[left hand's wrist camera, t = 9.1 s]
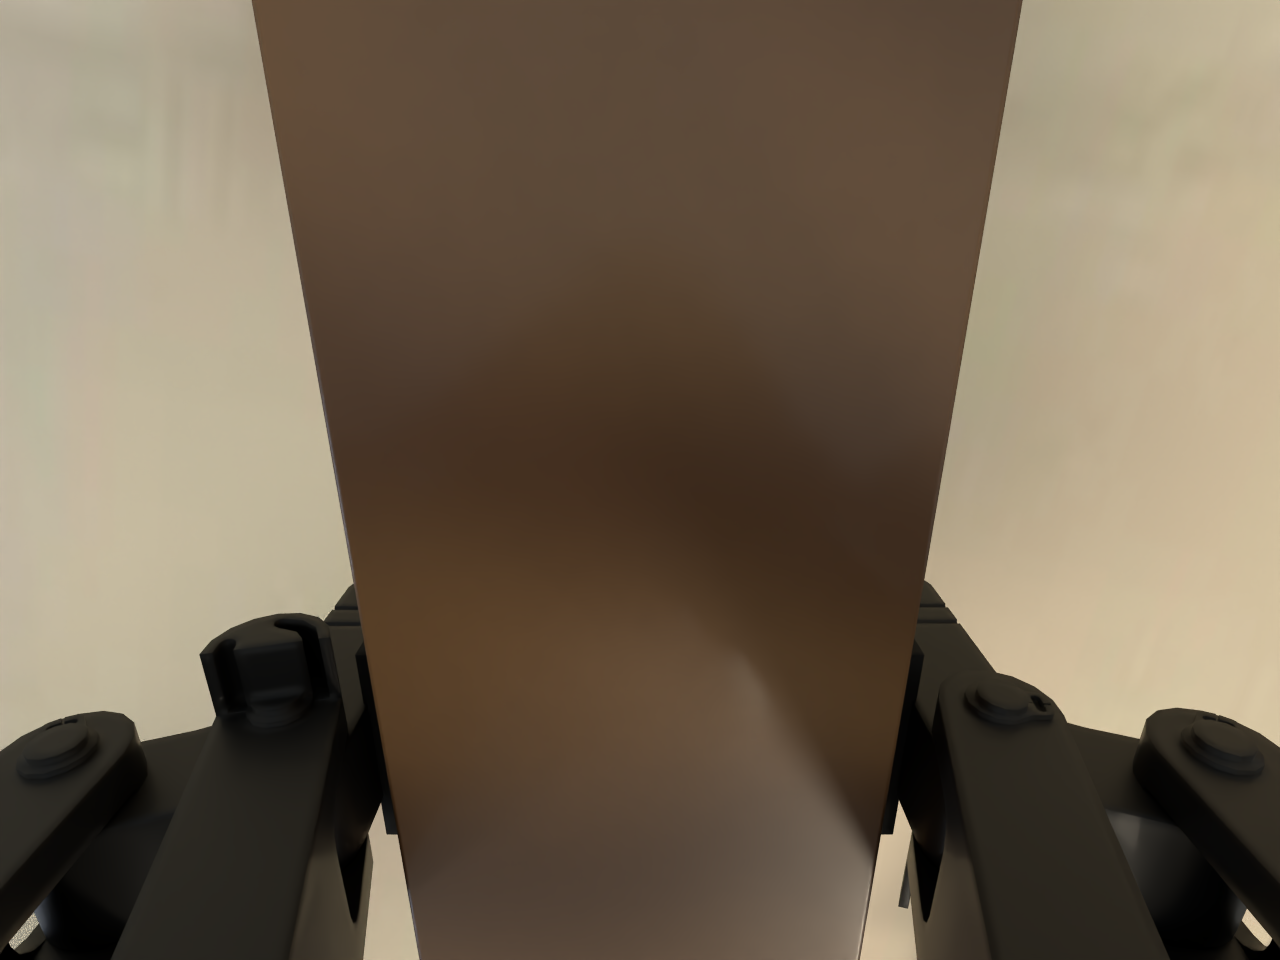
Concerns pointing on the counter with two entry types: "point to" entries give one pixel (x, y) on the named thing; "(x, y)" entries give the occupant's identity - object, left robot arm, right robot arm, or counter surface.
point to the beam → (638, 436)
